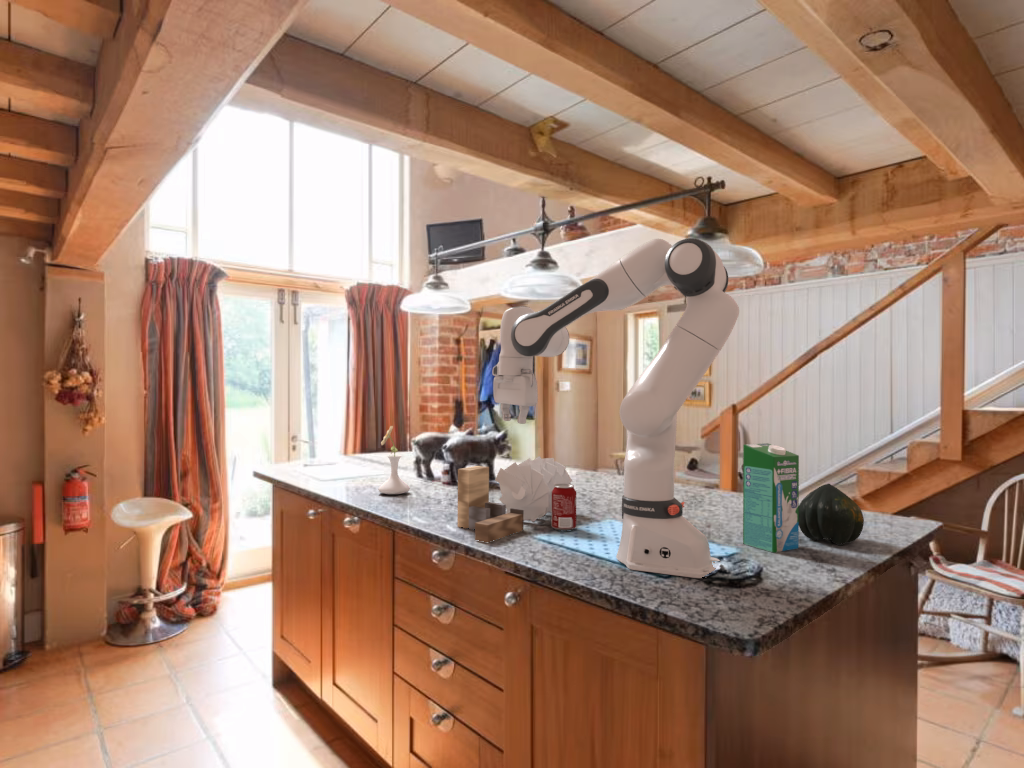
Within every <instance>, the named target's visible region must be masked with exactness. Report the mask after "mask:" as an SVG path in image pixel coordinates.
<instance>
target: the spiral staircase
mask: <svg viewBox="0 0 1024 768" xmlns="http://www.w3.org/2000/svg"><path fill="white" fill-rule="evenodd" d="M566 469H567V466H565V465H563V464H562V463H560V462H558V461H557V460H555V458H554V457H546V458H542V457H541V455H538V456H536V458H534V459H533V460H532V458H531V457H529V458H528V459H526V460H524V461H522V462H521V463H518V464H517V462H516V461H515V462H513V463H512V464H511V465H509V466H507V467H506V468H503V467H500V469H499V470H498V473H497V475H496V476H495V479H494V481H495V482H497V483H499V489H500V493H501V497H500V498H499V499H498V500H499V501H500V503H501V504H506V514H507V513H510V508H514V509H520V510H524V518H523V522H525V521H529V520H530V521H531V522H532V523H534V522H535V521H536V520H537V519H538V520H540V519H541V518H543V517H544V516H545V515H547V514H548V513H550V514H552V490H553V489H554V485H555V484H571V483H572V482H573V479H572V478H571V476H570V475H569V473H568V472H567V470H566Z"/></svg>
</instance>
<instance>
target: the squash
mask: <svg viewBox="0 0 1024 768" xmlns="http://www.w3.org/2000/svg"><path fill="white" fill-rule="evenodd" d="M864 523H865V519H864V515H863V512H862V509H861V507H860V506H859V505H858V504H857V502H856V501H854V500H853V499H852V498H850V496H848V495H847V494H846V493H844V492H843V491H842V490H841V489H839V488H838V487H836V486H835V485H832V484H831V483H825V484H823V485H821V486H819V487H817V488H815V489H813V490H812V491H810V492H809V493H808V494H807V495H806V496H805V497H804V498H803V499H802V500H801V502H800V503H799V529H800V530H799V531H800V532H801V533H802V535H804V536H805V537H806V538H808V539H809V540H813V541H820V540H821V541H822V540H824V539H825V540H826V541H827V540H828V541H829V540H831V541H832V543H833V544H835V545H838V546H842V545H844V544H849V543H852V542H855V541H856V540H858V538H859V537H860V536H861V535H862V534H861V533H862V532H863V529H864Z"/></svg>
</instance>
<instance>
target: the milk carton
mask: <svg viewBox="0 0 1024 768" xmlns="http://www.w3.org/2000/svg"><path fill="white" fill-rule="evenodd" d="M799 458H800V456H799V454H796V453H794V452H791V451H789V450H787V448H786V447H783V446H779V445H776V444H771V443H769V442H767V443H751V444H750V443H749V444H748V443H746V444H743V465H742V467H743V469H742V470H743V472H742V473H743V475H742V476H743V480H742V483H743V484H742V485H743V487H742V488H743V491H742V492H743V493H742V495H743V496H742V500H743V501H742V502H743V503H742V506H743V507H742V509H743V513H742V515H743V517H742V519H743V520H742V524H743V525H742V534H743V535H742V543H743V545H746V546H750V547H752V548H756V549H759V550H762V551H766V552H769V553H774V554H775V553H780V552H786V551H790V550H791V551H792V550H796V549H799V546H800V543H799V541H800V540H799V537H800V536H799V533H800V532H799V531H800V530H799V529H800V528H799V505H800V503H799V499H800V498H799V493H800V489H799V486H800V484H799V482H800V481H799V480H800V475H799V473H800V469H799V467H800V466H799V465H800V459H799Z"/></svg>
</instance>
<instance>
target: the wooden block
mask: <svg viewBox="0 0 1024 768" xmlns="http://www.w3.org/2000/svg"><path fill="white" fill-rule="evenodd" d="M523 518H524V510H520V509H514V508H510V513H507V514H504V515H500V516H497V517H493V518H490V519H487V520H483V521H480V522H477V523H475V530H474V541H475V540H479V541H484V542H489V543H491V542H490V541H492V542H494V541H493V540H495V541H497V540H496V539H498V540H500V539H499V538H501V539H503V538H502V537H504V538H506V537H505V536H507V537H509V536H511V535H510V534H512V535H514V534H513V533H515V534H517V533H516V532H518V533H520V532H519V531H521V532H523V531H524V521H523ZM522 530H523V531H522ZM508 535H509V536H508ZM479 541H478V542H479ZM484 542H483V543H484Z"/></svg>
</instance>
